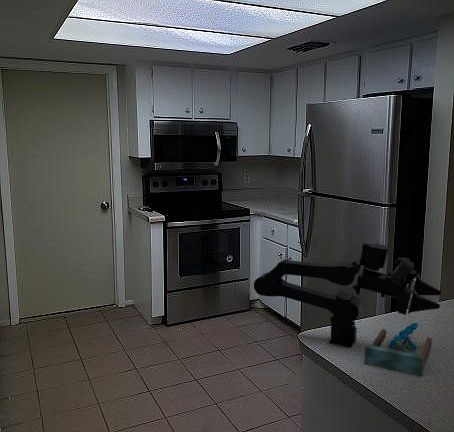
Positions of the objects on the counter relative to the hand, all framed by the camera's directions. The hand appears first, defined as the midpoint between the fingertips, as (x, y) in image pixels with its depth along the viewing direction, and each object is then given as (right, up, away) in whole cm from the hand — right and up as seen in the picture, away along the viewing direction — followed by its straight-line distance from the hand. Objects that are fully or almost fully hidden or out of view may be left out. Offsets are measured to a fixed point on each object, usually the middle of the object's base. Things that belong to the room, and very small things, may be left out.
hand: (440, 299), depth 122 cm
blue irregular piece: (-7, -16, +8) cm, 19 cm away
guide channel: (-9, -16, +5) cm, 19 cm away
